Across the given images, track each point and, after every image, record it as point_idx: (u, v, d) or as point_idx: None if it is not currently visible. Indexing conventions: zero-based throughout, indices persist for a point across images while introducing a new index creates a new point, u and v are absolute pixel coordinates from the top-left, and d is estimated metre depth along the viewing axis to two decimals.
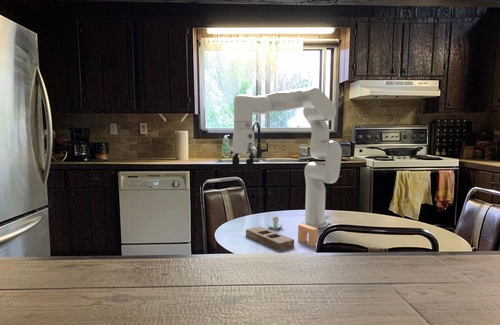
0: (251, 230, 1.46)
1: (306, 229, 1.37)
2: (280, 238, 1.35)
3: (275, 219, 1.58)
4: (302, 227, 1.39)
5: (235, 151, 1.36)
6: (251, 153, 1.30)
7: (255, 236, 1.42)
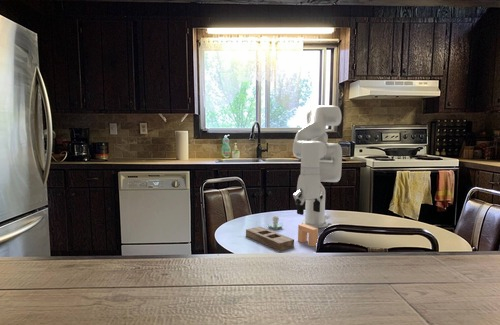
0: (251, 230, 1.46)
1: (306, 229, 1.37)
2: (280, 238, 1.35)
3: (275, 219, 1.58)
4: (302, 227, 1.39)
5: (309, 197, 1.34)
6: (321, 196, 1.40)
7: (255, 236, 1.42)
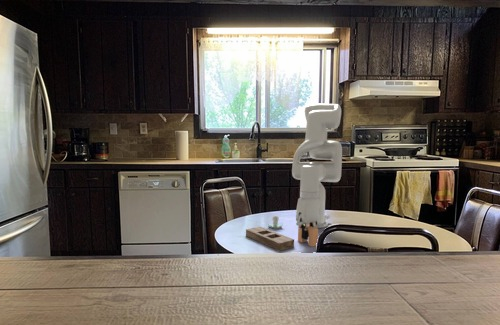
0: (251, 230, 1.46)
1: None
2: (280, 238, 1.35)
3: (275, 219, 1.58)
4: None
5: (308, 221, 1.35)
6: (316, 222, 1.40)
7: (255, 236, 1.42)
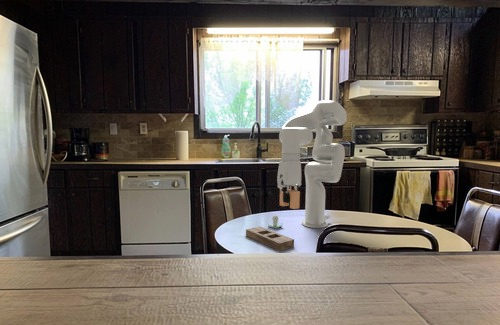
0: (251, 230, 1.46)
1: None
2: (280, 238, 1.35)
3: (275, 218, 1.59)
4: None
5: (289, 183, 1.34)
6: (297, 185, 1.39)
7: (255, 236, 1.42)
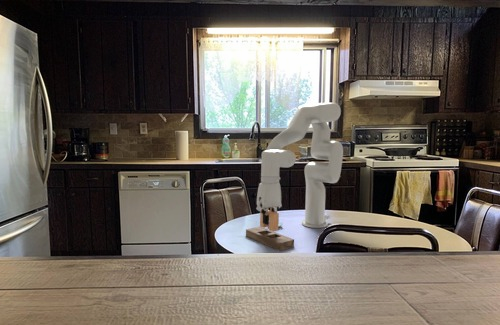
0: (251, 230, 1.46)
1: None
2: (280, 238, 1.35)
3: None
4: None
5: (268, 206, 1.36)
6: (277, 207, 1.41)
7: (255, 236, 1.42)
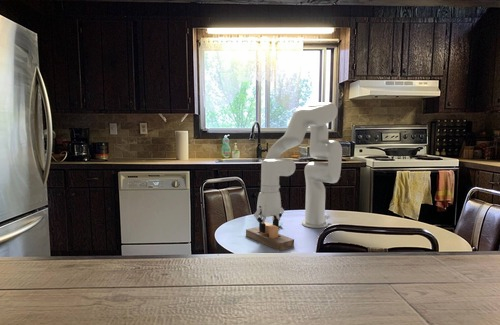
0: (251, 230, 1.46)
1: (267, 227, 1.39)
2: (280, 238, 1.35)
3: None
4: None
5: (268, 215, 1.37)
6: (280, 214, 1.43)
7: (255, 236, 1.42)
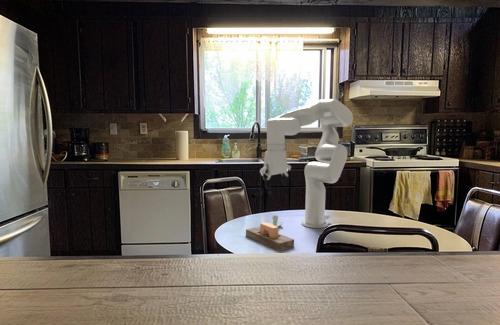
0: (251, 230, 1.46)
1: (267, 227, 1.39)
2: (280, 238, 1.35)
3: (275, 218, 1.60)
4: (263, 225, 1.41)
5: (275, 172, 1.41)
6: (288, 170, 1.47)
7: (255, 236, 1.42)
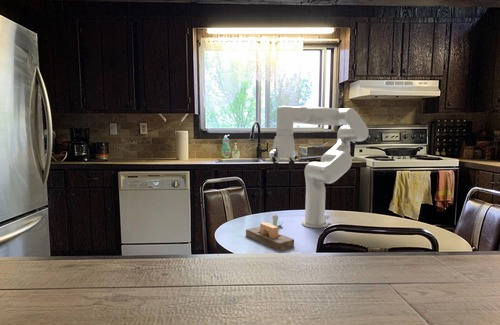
0: (251, 230, 1.46)
1: (267, 227, 1.39)
2: (280, 238, 1.35)
3: (275, 217, 1.60)
4: (263, 225, 1.41)
5: (283, 156, 1.50)
6: (296, 156, 1.56)
7: (255, 236, 1.42)
